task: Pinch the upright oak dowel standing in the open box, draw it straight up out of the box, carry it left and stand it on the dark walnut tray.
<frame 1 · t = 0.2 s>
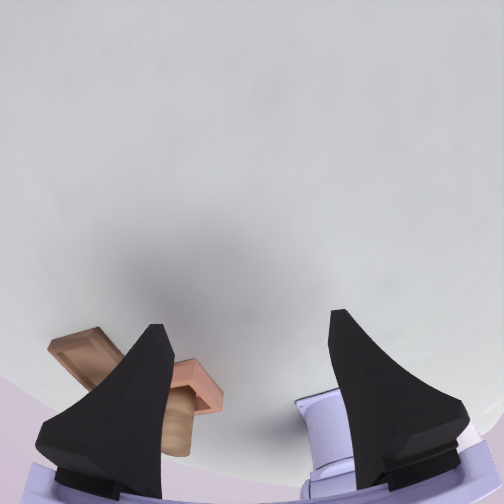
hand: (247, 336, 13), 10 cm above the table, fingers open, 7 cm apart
drinking glass: (449, 408, 39), on the table
open box: (183, 382, 30), on the table
tray: (112, 376, 30), on the table
dowel: (182, 385, 30), resting on open box
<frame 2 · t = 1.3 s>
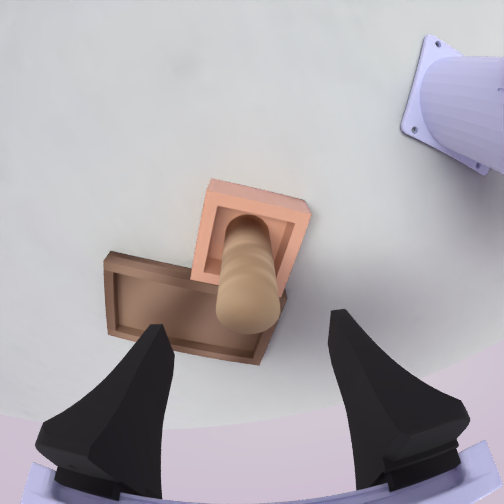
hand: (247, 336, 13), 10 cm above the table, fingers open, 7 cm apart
open box: (247, 231, 21), on the table
tray: (189, 308, 25), on the table
dowel: (247, 234, 21), resting on open box
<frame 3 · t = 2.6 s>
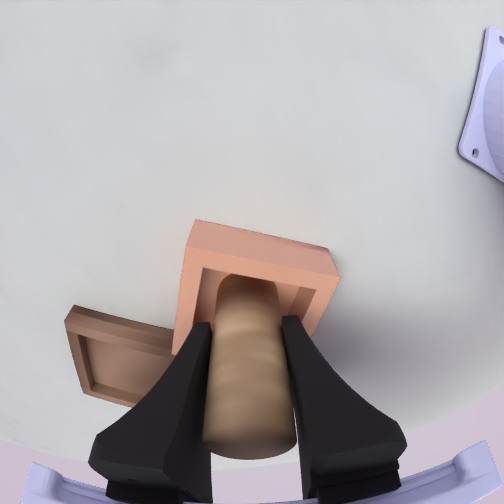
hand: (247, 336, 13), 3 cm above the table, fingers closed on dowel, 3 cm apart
open box: (247, 288, 16), on the table
tray: (176, 371, 19), on the table
dowel: (247, 294, 15), resting on open box, touching gripper
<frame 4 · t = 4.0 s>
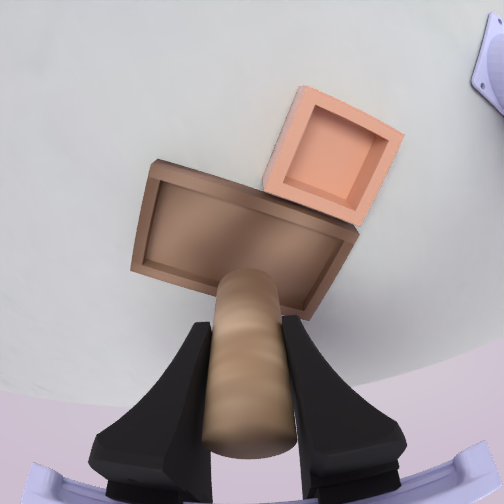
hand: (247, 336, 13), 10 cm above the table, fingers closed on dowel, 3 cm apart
open box: (326, 151, 18), on the table
tray: (240, 242, 21), on the table
dowel: (247, 293, 15), point 7 cm above the table, touching gripper
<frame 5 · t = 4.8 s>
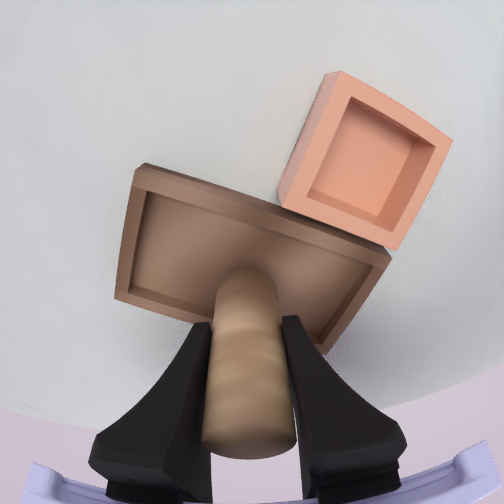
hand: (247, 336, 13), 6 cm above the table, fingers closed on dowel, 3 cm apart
open box: (357, 156, 14), on the table
tray: (247, 266, 17), on the table
dowel: (247, 293, 15), point 3 cm above the table, touching gripper
when the fingers open (4 cm above the table, at t = 5.4 s): dowel stays where it is, resting on tray.
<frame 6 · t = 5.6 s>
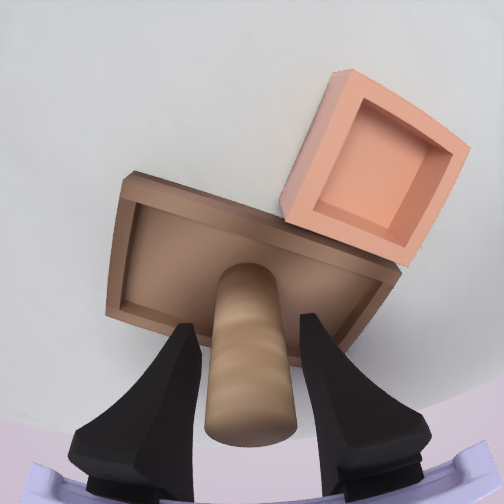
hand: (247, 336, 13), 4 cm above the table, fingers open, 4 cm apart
open box: (367, 164, 13), on the table
tray: (247, 282, 16), on the table
dowel: (247, 287, 16), point 1 cm above the table, touching tray
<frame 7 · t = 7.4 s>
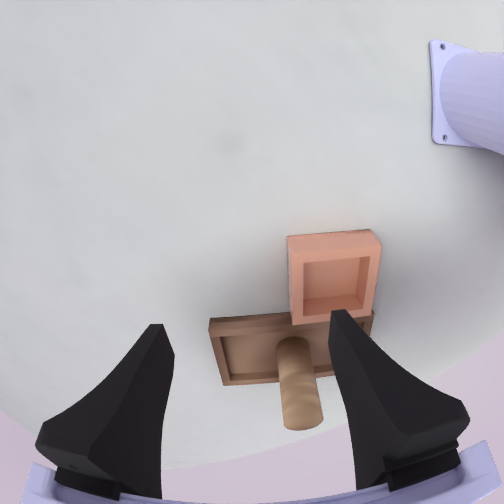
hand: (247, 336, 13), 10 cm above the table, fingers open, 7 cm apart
open box: (328, 269, 23), on the table
tray: (291, 343, 28), on the table
dowel: (292, 347, 27), point 1 cm above the table, touching tray
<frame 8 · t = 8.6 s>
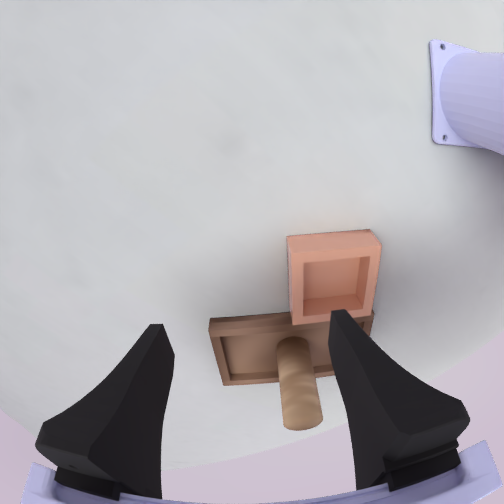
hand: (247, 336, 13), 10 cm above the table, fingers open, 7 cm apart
open box: (328, 269, 23), on the table
tray: (291, 343, 28), on the table
dowel: (292, 347, 27), point 1 cm above the table, touching tray
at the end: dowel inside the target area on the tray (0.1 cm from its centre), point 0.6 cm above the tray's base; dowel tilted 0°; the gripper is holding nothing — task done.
